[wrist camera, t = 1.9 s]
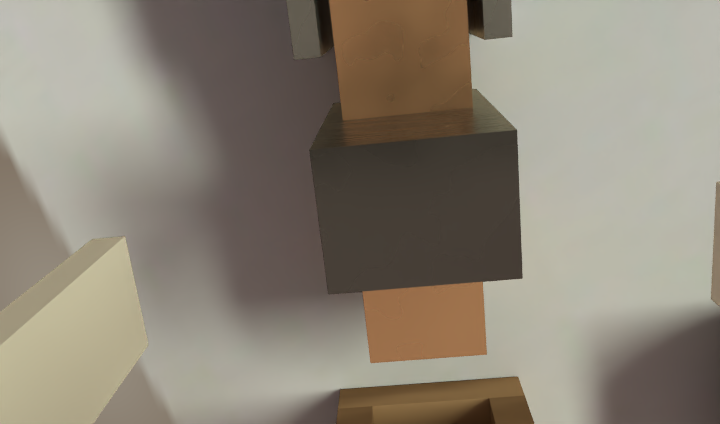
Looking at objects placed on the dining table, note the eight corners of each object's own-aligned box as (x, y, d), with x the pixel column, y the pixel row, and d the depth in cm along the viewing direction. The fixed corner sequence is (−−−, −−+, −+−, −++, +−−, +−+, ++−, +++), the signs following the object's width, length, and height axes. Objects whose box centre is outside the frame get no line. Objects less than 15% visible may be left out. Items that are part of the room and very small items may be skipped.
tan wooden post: (290, -260, 21) (236, -405, 14) (455, -283, 21) (495, -446, 13) (358, 313, 27) (346, 435, 20) (487, 302, 27) (527, 423, 19)
